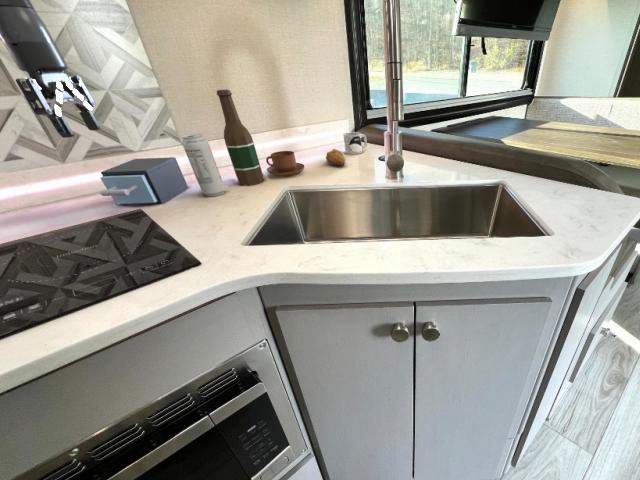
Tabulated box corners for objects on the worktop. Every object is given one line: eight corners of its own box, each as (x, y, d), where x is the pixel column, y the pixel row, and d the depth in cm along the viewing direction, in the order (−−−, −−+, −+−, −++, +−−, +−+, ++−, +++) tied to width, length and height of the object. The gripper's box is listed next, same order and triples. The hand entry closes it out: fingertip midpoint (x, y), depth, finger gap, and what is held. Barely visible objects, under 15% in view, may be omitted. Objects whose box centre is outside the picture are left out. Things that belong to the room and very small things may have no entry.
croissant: (321, 161, 116) (318, 146, 113) (338, 158, 118) (336, 144, 115) (333, 169, 106) (331, 153, 103) (352, 166, 109) (350, 151, 106)
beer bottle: (241, 179, 101) (211, 89, 86) (266, 177, 102) (241, 88, 87) (235, 186, 95) (203, 91, 80) (262, 184, 96) (235, 90, 81)
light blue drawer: (143, 209, 79) (128, 182, 75) (102, 211, 79) (84, 183, 75) (180, 187, 93) (169, 163, 89) (145, 188, 93) (132, 164, 89)
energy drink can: (231, 191, 91) (210, 133, 82) (214, 198, 87) (190, 138, 78) (215, 189, 93) (194, 133, 84) (198, 195, 89) (173, 137, 80)
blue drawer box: (162, 203, 85) (145, 170, 80) (119, 205, 85) (100, 172, 80) (188, 187, 96) (175, 157, 90) (150, 188, 96) (135, 158, 90)
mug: (351, 155, 122) (349, 136, 118) (342, 152, 126) (340, 134, 122) (372, 150, 127) (370, 132, 123) (362, 148, 131) (361, 130, 127)
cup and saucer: (265, 180, 99) (260, 159, 95) (270, 170, 108) (265, 150, 105) (304, 177, 101) (300, 156, 97) (306, 167, 110) (302, 148, 106)
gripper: (37, 42, 66) (86, 128, 76) (-29, 38, 55) (39, 140, 65) (75, 41, 67) (119, 127, 77) (16, 37, 55) (77, 138, 65)
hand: (82, 133), depth 71 cm, fingers open, 8 cm apart
